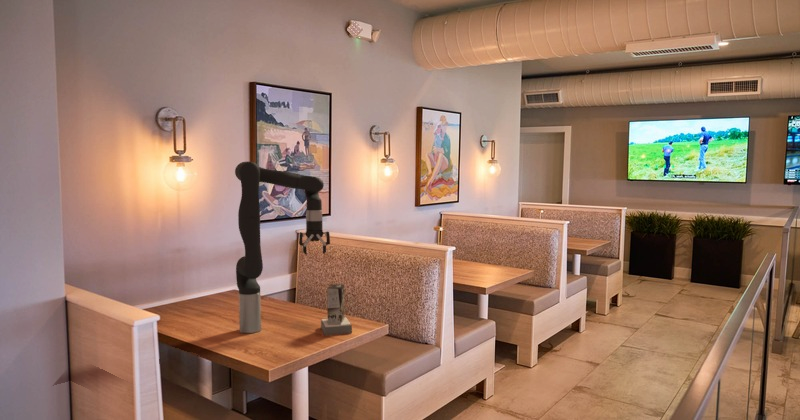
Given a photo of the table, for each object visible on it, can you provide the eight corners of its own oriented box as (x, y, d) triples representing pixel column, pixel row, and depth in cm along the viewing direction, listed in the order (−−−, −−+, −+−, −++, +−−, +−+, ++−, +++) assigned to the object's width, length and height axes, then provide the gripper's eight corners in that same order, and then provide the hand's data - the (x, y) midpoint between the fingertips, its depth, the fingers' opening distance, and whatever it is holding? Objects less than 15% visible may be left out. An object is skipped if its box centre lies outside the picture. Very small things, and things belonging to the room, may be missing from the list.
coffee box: (341, 324, 247) (341, 288, 245) (327, 324, 247) (326, 288, 246) (344, 318, 256) (344, 283, 254) (330, 318, 256) (330, 283, 255)
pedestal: (324, 335, 244) (324, 326, 244) (321, 327, 256) (320, 319, 256) (351, 333, 248) (351, 324, 247) (347, 325, 259) (346, 317, 259)
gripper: (299, 220, 258) (300, 255, 259) (330, 220, 262) (330, 254, 263) (298, 219, 265) (298, 253, 266) (328, 218, 269) (328, 252, 270)
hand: (314, 253), depth 265 cm, fingers open, 8 cm apart
